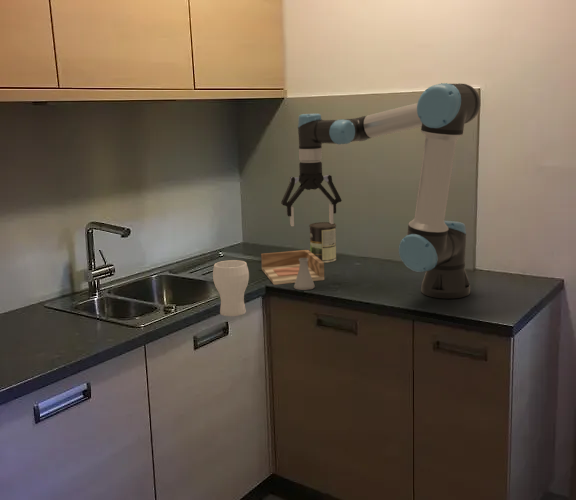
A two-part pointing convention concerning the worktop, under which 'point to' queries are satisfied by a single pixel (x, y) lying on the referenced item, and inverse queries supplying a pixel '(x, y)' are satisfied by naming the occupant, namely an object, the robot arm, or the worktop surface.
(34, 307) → the worktop surface
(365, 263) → the worktop surface
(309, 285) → the flask
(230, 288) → the cup
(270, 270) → the tray
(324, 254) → the coffee can
